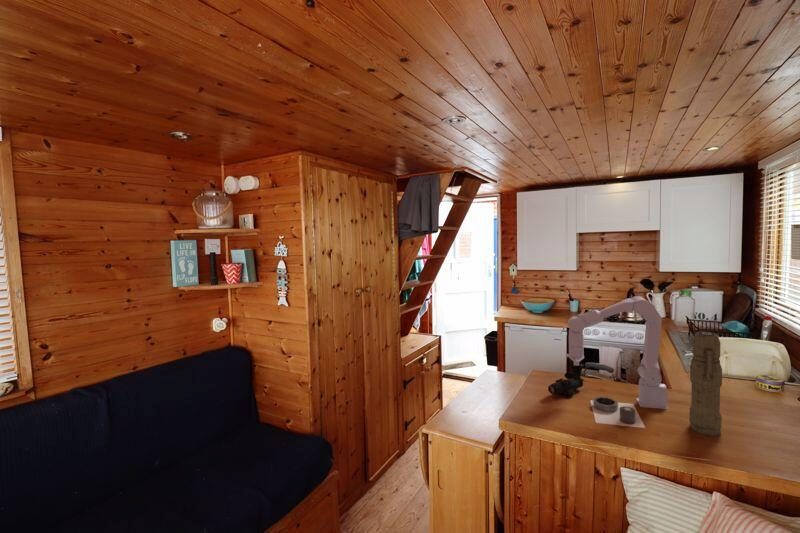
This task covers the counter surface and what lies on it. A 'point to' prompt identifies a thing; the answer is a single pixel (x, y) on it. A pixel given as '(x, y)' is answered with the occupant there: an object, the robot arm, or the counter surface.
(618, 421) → the mat
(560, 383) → the night vision scope
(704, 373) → the brown tall rounded block
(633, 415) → the cap
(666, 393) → the robot arm
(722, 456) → the counter surface
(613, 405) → the grey bowl
